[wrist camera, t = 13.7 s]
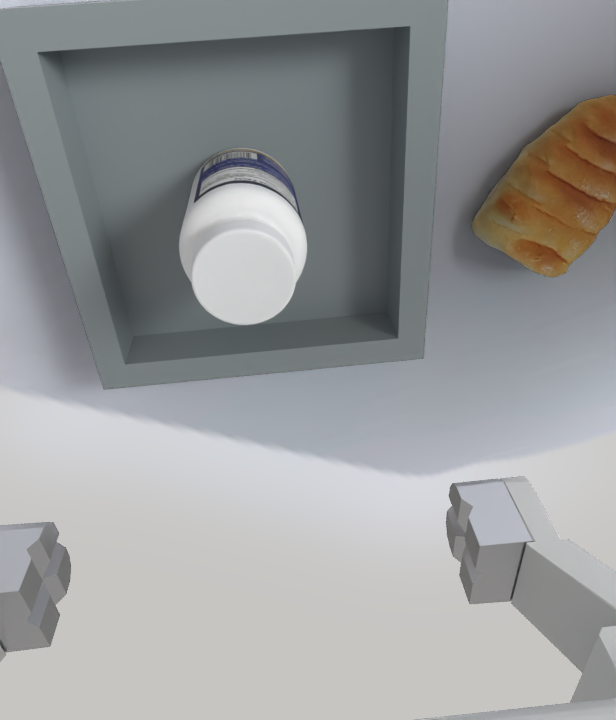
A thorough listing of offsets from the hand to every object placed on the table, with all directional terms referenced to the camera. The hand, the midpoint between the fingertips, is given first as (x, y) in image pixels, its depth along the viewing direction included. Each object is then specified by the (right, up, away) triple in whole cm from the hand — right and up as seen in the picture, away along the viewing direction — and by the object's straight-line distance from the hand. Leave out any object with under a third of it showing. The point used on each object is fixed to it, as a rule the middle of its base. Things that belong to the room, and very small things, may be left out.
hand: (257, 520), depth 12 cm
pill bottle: (-2, +12, +18) cm, 22 cm away
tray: (-2, +12, +19) cm, 22 cm away
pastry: (+14, +13, +20) cm, 28 cm away
